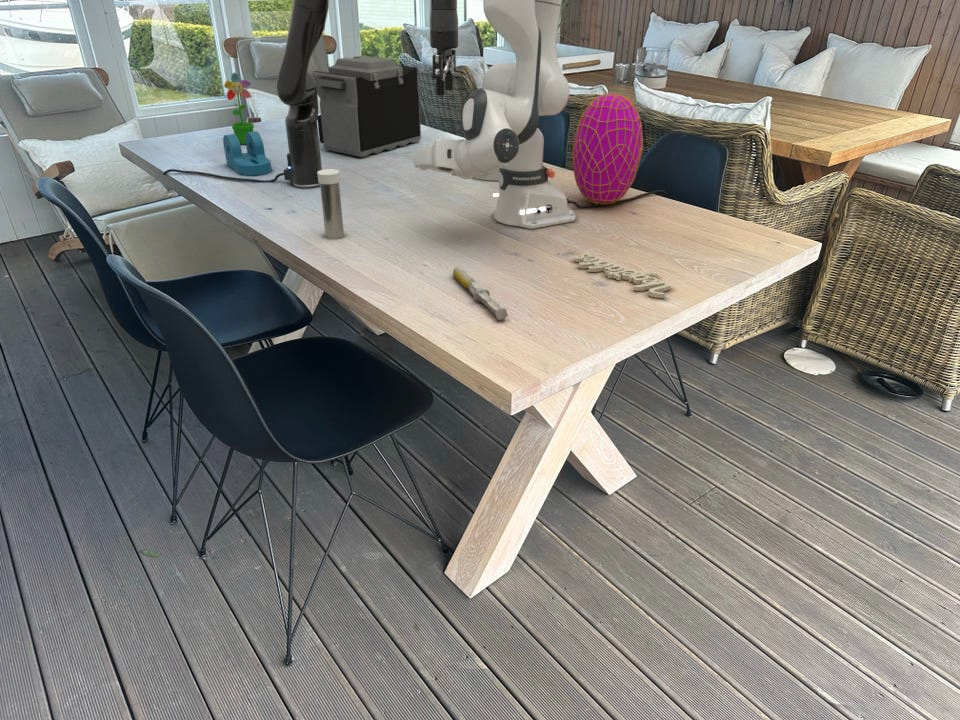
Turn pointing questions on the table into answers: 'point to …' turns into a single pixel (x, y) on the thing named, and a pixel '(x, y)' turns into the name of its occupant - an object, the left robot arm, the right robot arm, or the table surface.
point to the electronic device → (368, 105)
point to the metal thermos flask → (332, 210)
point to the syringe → (479, 293)
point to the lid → (328, 176)
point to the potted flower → (237, 88)
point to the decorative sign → (625, 274)
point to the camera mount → (246, 154)
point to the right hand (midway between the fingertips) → (437, 169)
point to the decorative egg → (607, 148)
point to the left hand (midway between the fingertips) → (444, 92)
